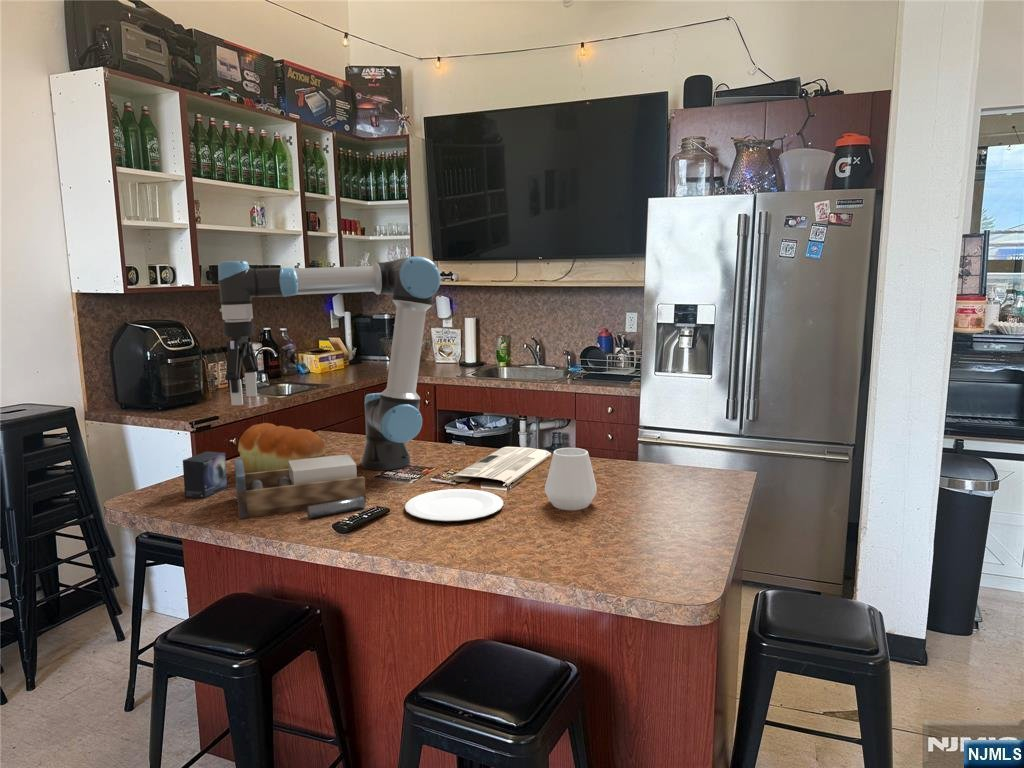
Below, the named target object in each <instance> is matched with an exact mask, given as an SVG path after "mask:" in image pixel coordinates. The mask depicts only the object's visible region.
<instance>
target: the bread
mask: <svg viewBox="0 0 1024 768" xmlns="http://www.w3.org/2000/svg"><path fill="white" fill-rule="evenodd" d="M237 452H238V453H239V458H240V459H242V461H243V466H244V472H245V473H254V472H263V471H272V470H281V469H289V462H288V461H290V460H300V459H309V458H318V457H326V454H327V449H326V445H325V441H324V440H323V439H322V438H321V437H320V436H319V435H318V433H315V431H312V430H310V429H306V428H298V429H296V428H293V427H291V426H286V425H278V426H277V425H275V424H274V423H270V422H262V423H258V424H253V425H251V426H250V427H248V428H247V429H246V430H245V431H244V432H243V434H241V436H240V438H239V441H238V448H237ZM240 459H239V460H240Z"/></svg>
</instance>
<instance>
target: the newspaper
mask: <svg viewBox="0 0 1024 768" xmlns="http://www.w3.org/2000/svg"><path fill="white" fill-rule="evenodd" d="M551 456H552V452H549V451H548V450H546V449H539V448H532V447H521V446H520V447H519V446H504V447H501V448H499V449H498V450H496V451H494V452H492V453H490V454H489V455H487V456H485V457H483V458H481V459H480V460H478V461H477V462H474V463H472V464H471V465H469V466H468V467H466V468H464V469H462V470H460V471H459V472H457V473H455V474H454V475H451V478H450V480H451V481H452V482H465V483H468V482H469V481H472V480H473V479H474V478H480V479H481V478H484V479H491V480H496V481H497V480H498V481H501V482H503V483H504V482H505V483H506V486H507V487H509V486H510V485H512V484H513V483H514V482H516V481H517V480H519V479H520V478H522V477H523V476H525V475H526V474H527V473H529V472H530V471H531V470H533V469H534V468H535V467H537V466H539V465H540V464H541V463H543V462H544V461H546V460H547V459H549V458H550V457H551ZM454 480H455V481H454ZM512 482H513V483H512ZM511 483H512V484H511Z"/></svg>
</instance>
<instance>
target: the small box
mask: <svg viewBox="0 0 1024 768" xmlns="http://www.w3.org/2000/svg"><path fill="white" fill-rule="evenodd" d="M226 464H227V463H226V452H219V451H207V450H206V451H204V452H201V453H199V454H196V455H194V456H190V457H188V458H185V459H183V460H182V469H183V483H184V498H191V499H192V498H194V499H206V498H208V497H210V496H212V495H215V494H216V493H219V492H221V491H223V490H225V489H228V484H227V483H228V481H227V480H228V479H227V465H226Z"/></svg>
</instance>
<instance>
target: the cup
mask: <svg viewBox="0 0 1024 768" xmlns="http://www.w3.org/2000/svg"><path fill="white" fill-rule="evenodd" d="M597 489H598V488H597V483H596V479H595V475H594V472H593V465H592V463H591V458H590V455H589V452H588V450H586V449H583V448H579V447H561V448H557V449H555V450H554V451H553V453H552V457H551V461H550V466H549V469H548V474H547V477H546V481H545V485H544V493H545V495H546V497H547V498H548V500H549V501H550V503H551V504H552V506H553V507H555V508H557V509H559V510H565V511H579V510H584V509H586V508H588V507H589V506H590V504H591V502H592V501H593V499H594V498H595V496H596V495H597Z"/></svg>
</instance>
